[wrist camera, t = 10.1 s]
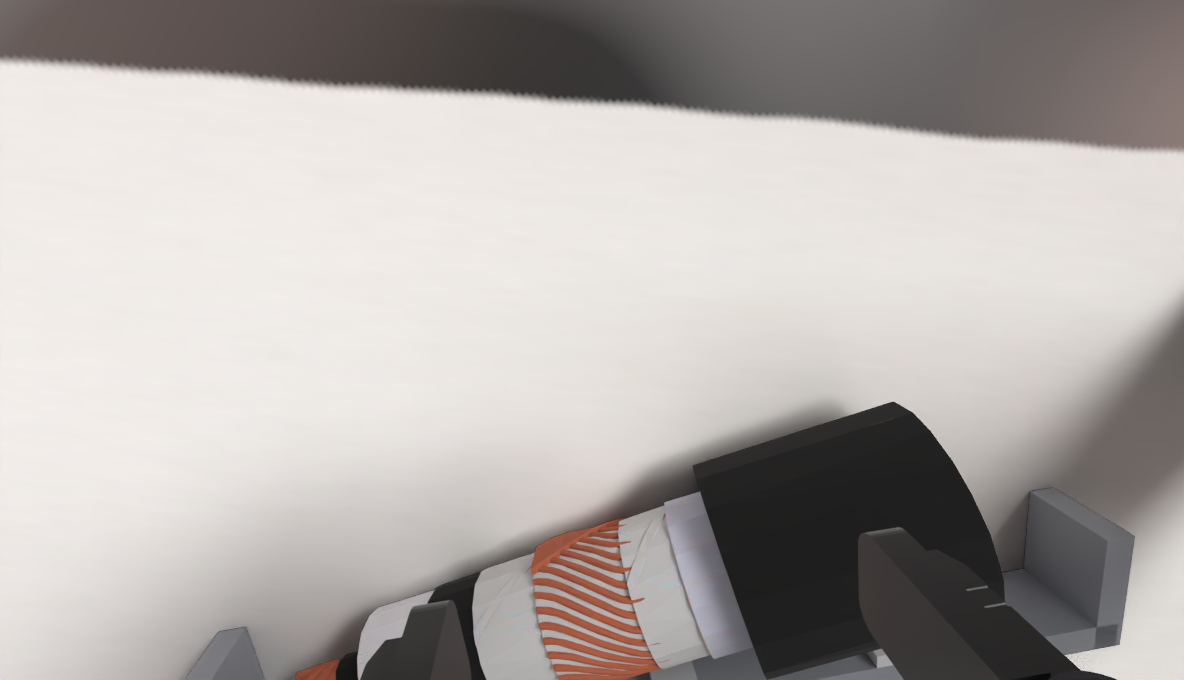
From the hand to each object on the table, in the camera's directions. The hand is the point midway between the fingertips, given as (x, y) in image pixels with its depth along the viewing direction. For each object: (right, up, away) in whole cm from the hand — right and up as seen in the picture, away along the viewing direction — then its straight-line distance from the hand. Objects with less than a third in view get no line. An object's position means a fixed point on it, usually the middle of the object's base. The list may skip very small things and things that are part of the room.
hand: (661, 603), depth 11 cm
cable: (-1, -7, +23) cm, 24 cm away
